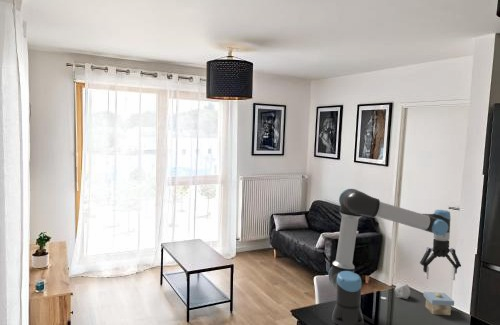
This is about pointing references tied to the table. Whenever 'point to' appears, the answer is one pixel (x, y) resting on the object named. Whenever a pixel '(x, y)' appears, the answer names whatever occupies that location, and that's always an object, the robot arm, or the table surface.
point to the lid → (438, 298)
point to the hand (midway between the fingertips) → (439, 278)
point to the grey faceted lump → (402, 291)
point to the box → (438, 308)
